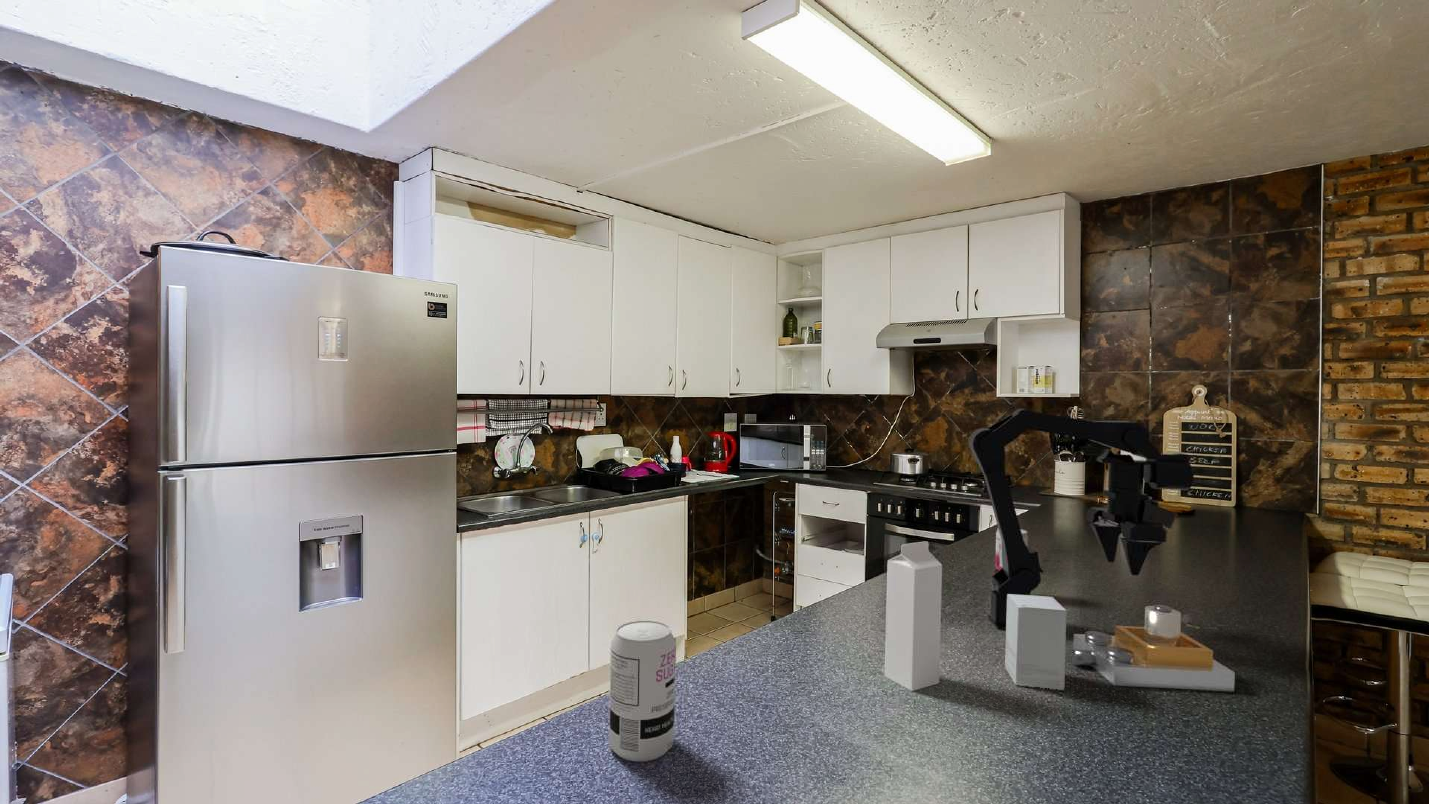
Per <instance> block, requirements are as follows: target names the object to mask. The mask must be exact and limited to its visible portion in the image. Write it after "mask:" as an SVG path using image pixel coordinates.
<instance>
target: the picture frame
mask: <svg viewBox="0 0 1429 804" xmlns="http://www.w3.org/2000/svg"><path fill="white" fill-rule="evenodd" d="M1144 627H1145V626H1133V625H1132V626H1131V625H1130V626H1129V625H1114V635H1110V634H1108V633H1105V632H1101V631H1097V630H1087V631H1085V632H1084V633H1083V634H1082V633H1073V649H1072V650H1071V653H1070V656H1071V661H1072V663H1073V665H1074V666H1075V665H1077V666H1091V667H1092V668H1093V669H1094V670H1095V671H1096V672H1098V673H1099V674H1100V675H1102V676H1103V677H1104V678H1105V679H1106V680H1107V681H1109V682H1110V683H1111V684H1112V685H1113V686H1121V687H1141V688H1144V687H1145V688H1158V689H1159V688H1161V689H1180V690H1181V689H1182V690H1197V691H1198V690H1200V691H1217V692H1218V691H1219V692H1235V680H1236V679H1235V676H1236V674H1235V671H1233V670H1231V669H1230V668H1229V667H1227V666H1225V665H1223V664H1221V663H1220V662H1218V661H1216V660H1215V659H1214V650H1212V649H1210V648H1208V647H1207V646H1205V645H1204V644H1202V643H1200V642H1199V641H1197V640H1195V639H1194V638H1193V637H1190V636H1189V635H1187V634H1185V633H1184V632H1182V631H1180V647H1166V646H1150V645H1149V644H1147V643H1146V642H1144Z"/></svg>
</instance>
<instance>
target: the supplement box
mask: <svg viewBox="0 0 1429 804" xmlns="http://www.w3.org/2000/svg"><path fill="white" fill-rule="evenodd" d="M1067 612H1068V611H1067V609H1066V608H1064V607H1063V605H1061V604H1060V602H1058V600H1056V599H1055V598H1054V597H1053V596H1044V595H1032V594H1030V595H1015V594H1007V614H1006V629H1005V656H1004V668H1005V670H1006V672H1007V673H1008V675H1009V676H1010V678H1011V680H1012V681H1013V683H1014V684H1015V686H1018V685H1019V687H1026V686H1028V688H1035V687H1040V688H1039V689H1045V688H1047V689H1048V688H1049V689H1048V690H1056V689H1057V690H1058V691H1064V690H1065V681H1066V680H1065V678H1066V676H1065V675H1066V649H1067V648H1066V647H1067V645H1066V642H1067V641H1066V640H1067ZM1047 689H1046V690H1047ZM1057 690H1056V691H1057Z"/></svg>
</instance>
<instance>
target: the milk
mask: <svg viewBox="0 0 1429 804" xmlns="http://www.w3.org/2000/svg"><path fill="white" fill-rule="evenodd" d="M929 547H930V546H929V541H920V542H919V541H918V542H911V543H904V544H902V545H901V547H900V554H899V555H896V556H894V557H892V558H890V559H888V560H887V566H886V567H887V568H886V569H887V570H886V572H887V574H886V604H885V606H886V608H885V609H886V611H885V643H884V645H885V646H884V647H885V648H884V649H885V651H884V656H885V657H884V677H885V678H887V679H889V680H890V681H892V682H894V683H896V684H898V685H899V686H901V687H903V688H905V689H907V690H909V691H910V692H914V691H917V690H920V689H924V688H928V687H932V686H934V685H938V684H939V683H940V659H941V658H940V657H941V656H940V653H941V621H942V618H941V616H942V614H941V613H942V585H943V584H942V583H943V578H942V577H943V564H942V563H941V562H940V561H939V560H938V559H937V558H936V557H935V556H934V555H933V554H932V552H930V550H929Z"/></svg>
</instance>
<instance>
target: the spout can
mask: <svg viewBox="0 0 1429 804" xmlns="http://www.w3.org/2000/svg"><path fill="white" fill-rule="evenodd" d="M1190 622H1193V617H1192V616H1191V614H1190V613H1185V614H1183V615H1182V613H1181V612H1180V611H1178V610H1176V609H1173V608H1172V607H1171V606H1167V605H1163V604H1155V605H1147V606H1145V607H1144V626H1143V627H1144V642H1146V643H1147V644H1149V645H1150V646H1166V647H1180V632H1182V631H1181V630H1182V629H1181V625H1184V624H1187V623H1190Z"/></svg>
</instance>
